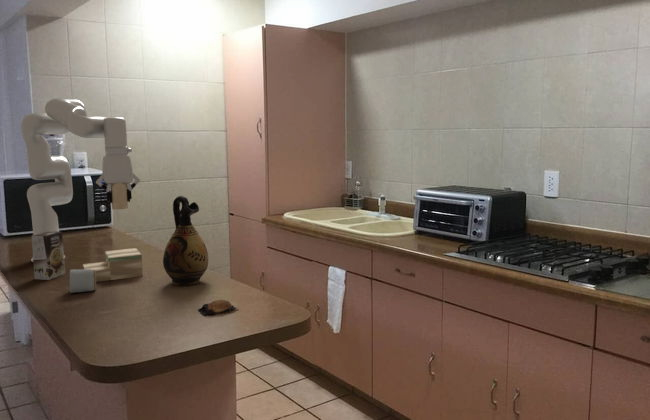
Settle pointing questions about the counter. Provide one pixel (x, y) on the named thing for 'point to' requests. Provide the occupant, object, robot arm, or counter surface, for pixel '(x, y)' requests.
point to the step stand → (118, 265)
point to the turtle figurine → (217, 308)
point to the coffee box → (48, 255)
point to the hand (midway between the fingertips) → (119, 201)
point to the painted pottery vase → (185, 247)
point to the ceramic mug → (82, 280)
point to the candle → (119, 196)
